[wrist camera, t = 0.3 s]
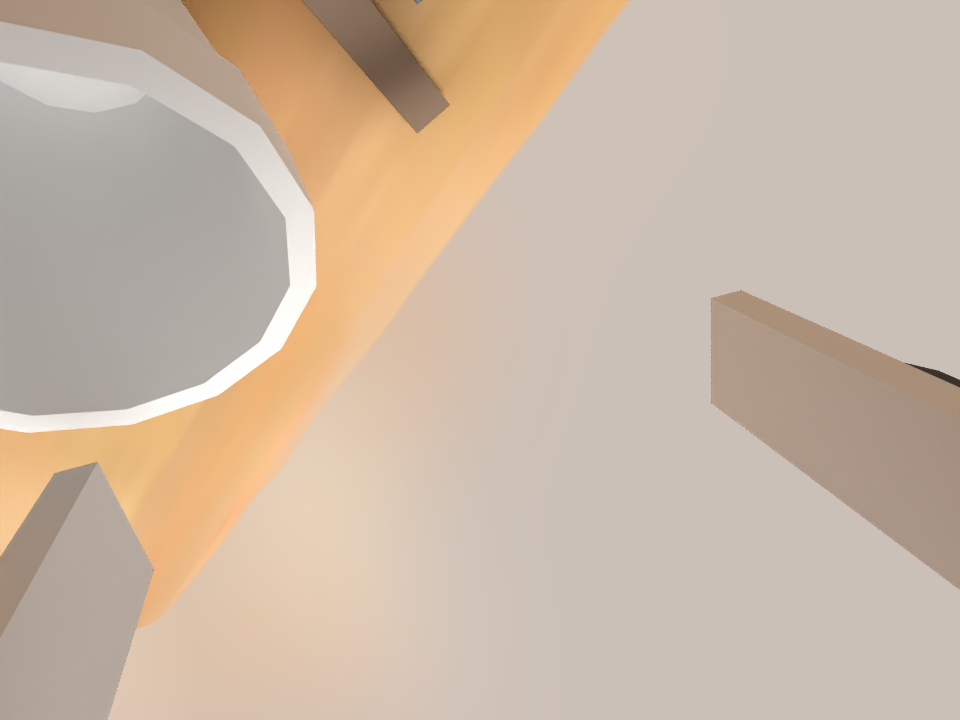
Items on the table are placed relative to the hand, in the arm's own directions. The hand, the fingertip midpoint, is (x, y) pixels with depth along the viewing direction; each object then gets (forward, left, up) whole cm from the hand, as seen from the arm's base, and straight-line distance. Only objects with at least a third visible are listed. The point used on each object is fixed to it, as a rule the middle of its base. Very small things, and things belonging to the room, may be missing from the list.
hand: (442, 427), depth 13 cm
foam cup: (-4, -5, -17) cm, 19 cm away
